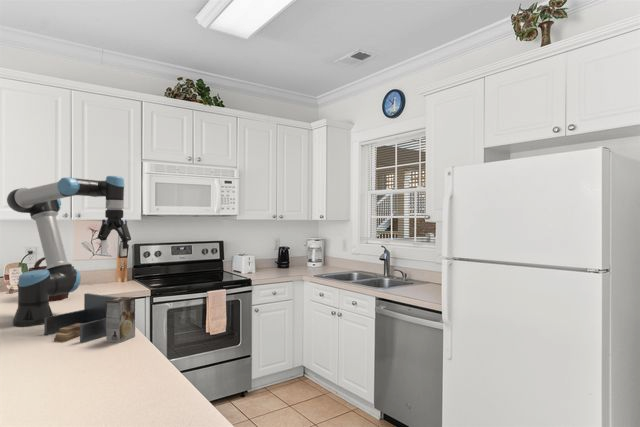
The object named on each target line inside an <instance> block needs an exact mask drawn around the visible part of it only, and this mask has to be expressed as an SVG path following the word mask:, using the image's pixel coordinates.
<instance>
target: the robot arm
mask: <svg viewBox="0 0 640 427" xmlns="http://www.w3.org/2000/svg"><path fill="white" fill-rule="evenodd" d="M124 192H125V179H124V177H123V176H119V175H107V176H106V177H105V180H95V179H85V178H76V177H61V178H60V180H59V179H58V181H56V182H52V183H51V182H50V183H48V184H43V185H39V186H36V187H31V188H28V187H20V188H15V189H13V190H12V191H10V192H9V193H8V195H7V197H6V203H7V204H8V207H9V208H10V209H11V210H12V211H15V212H17V213H21V214H23V213H24V214H29V216H30V218H31V220H33V221H35V224H36V228H37V232H38V235H39V240H40V244H41V248H42V252H43V257H45V260H44V261H45V264H46V266H47V268H46V269H45V270H34V271H29V272H28V271H25V272H23V273H21V274H20V275H18V276H19V277H18V282H17V289H18V290H17V292H18V293H17V309H16V312H15V313H14V317H13V319H12V325H13V326H14V327H31V326H39V325H44V318H46V317H51V316H54V313H53V311H52V308H51V306H50V302H49V296H55V295H60V294H67V293H69V294H70V293H73V292H75V291H76V290H77V289H78V288H79V287H80V285H81V281H82V280H81V273H80V271H79V270H78V269H76V268H74V269H73V268H72V263H71V262H69V261H68V259H67V255H66V252H65V249H64V245H63V240H62V236H61V233H60V229H59V226H58V225H59V224H58V221H57V218H56V217H58V215H59V212H60V210H61V206H62V200H61V199H64V198H68V197H69V198H70V197H74V196H80V197H81V196H84V197H92V198H93V197H94V198H98V197H99V198H101V197H105V213H104V214H105V219H102V221H101V226H100V229H99V232H98V234H97V239H98V240H99V241H100V255H108V237H109V236H110V234H111V233H112V231H113V230H115V231H116V233H117V234H118V235H119V236H118V237H119V238H120V253H119V254H120V256H119V257H126V256H128V243H129V242H130V241H131V240H132V237H131V233H130V230H129V227H128V221H127V219H123V218H124V210H123V209H124V208H125V205H124V204H125V201H124V200H125V199H124V196H125V193H124Z"/></svg>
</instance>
